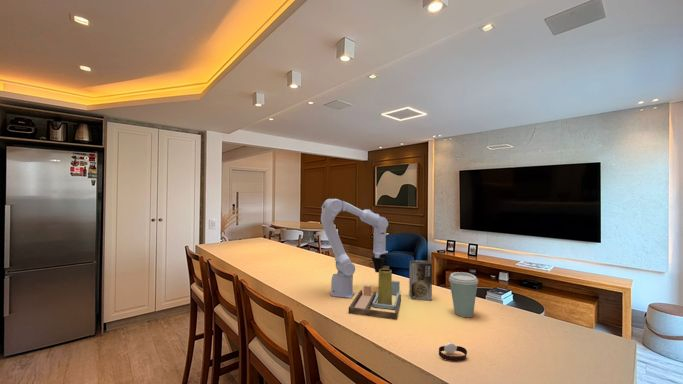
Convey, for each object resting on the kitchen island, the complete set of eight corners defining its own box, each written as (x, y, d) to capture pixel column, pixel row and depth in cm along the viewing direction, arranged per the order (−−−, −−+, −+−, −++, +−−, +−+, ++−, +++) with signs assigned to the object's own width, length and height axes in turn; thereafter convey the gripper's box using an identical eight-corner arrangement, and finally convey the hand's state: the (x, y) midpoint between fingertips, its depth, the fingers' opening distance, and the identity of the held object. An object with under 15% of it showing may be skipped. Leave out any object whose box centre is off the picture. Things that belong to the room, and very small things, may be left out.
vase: (375, 306, 115) (375, 270, 116) (379, 301, 121) (380, 267, 121) (389, 309, 113) (390, 272, 113) (393, 304, 118) (394, 269, 119)
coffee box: (428, 295, 130) (429, 260, 130) (432, 300, 123) (432, 263, 124) (408, 294, 131) (409, 259, 131) (410, 299, 124) (411, 262, 125)
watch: (462, 353, 81) (462, 340, 81) (470, 362, 76) (470, 349, 76) (435, 353, 81) (436, 340, 81) (442, 362, 76) (442, 349, 76)
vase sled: (371, 306, 114) (372, 292, 114) (379, 291, 133) (379, 279, 133) (395, 309, 111) (395, 294, 112) (399, 293, 131) (399, 281, 131)
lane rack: (348, 313, 107) (348, 307, 107) (360, 295, 128) (360, 290, 128) (396, 319, 102) (396, 313, 102) (401, 299, 123) (401, 294, 124)
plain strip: (352, 311, 108) (352, 299, 108) (362, 295, 127) (362, 284, 127) (364, 313, 107) (364, 300, 107) (372, 296, 126) (373, 285, 126)
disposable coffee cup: (481, 321, 103) (482, 279, 103) (450, 318, 105) (451, 277, 106) (474, 310, 113) (474, 272, 114) (446, 307, 116) (446, 270, 116)
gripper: (386, 244, 127) (385, 274, 126) (389, 240, 141) (389, 267, 140) (370, 243, 129) (369, 273, 128) (375, 239, 143) (374, 266, 142)
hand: (378, 270), depth 134 cm, fingers open, 7 cm apart
